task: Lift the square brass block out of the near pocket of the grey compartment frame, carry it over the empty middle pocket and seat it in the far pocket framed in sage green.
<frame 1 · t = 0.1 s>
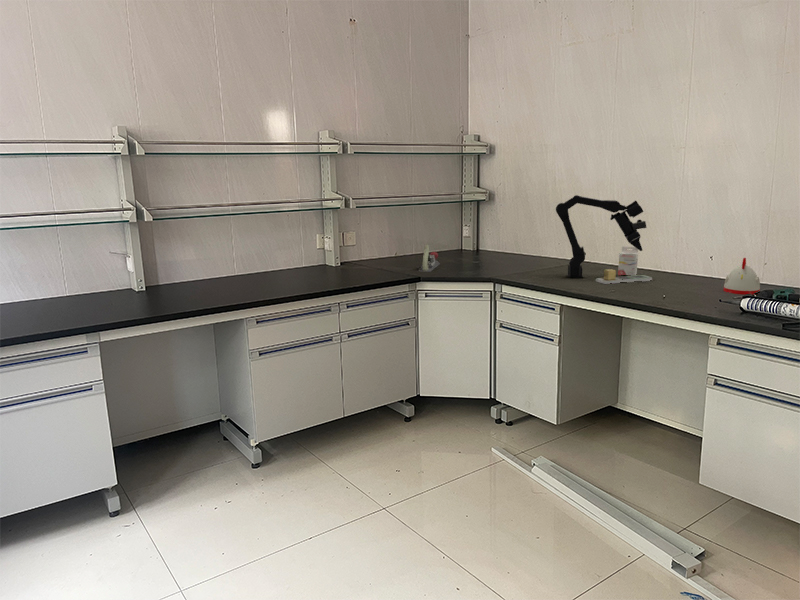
hand: (640, 249, 295), 15 cm above the lab bench, tool tilted 30°, fingers open, 9 cm apart
brass block: (609, 282, 291), resting in grey compartment frame
ink cartridge box: (627, 275, 309), on the lab bench
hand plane: (429, 268, 349), on the lab bench
kitchen timer: (741, 292, 262), on the lab bench
grey compartment frame: (623, 281, 293), on the lab bench
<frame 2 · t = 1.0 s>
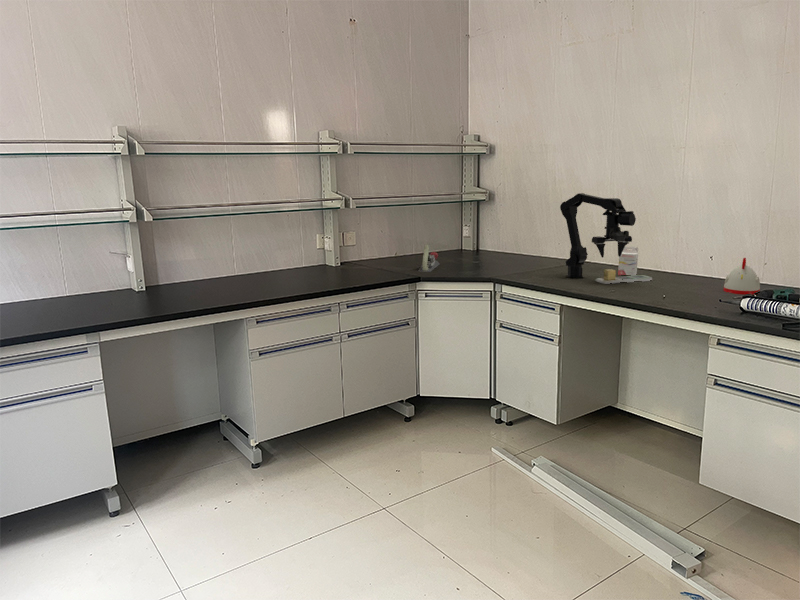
hand: (610, 256, 289), 12 cm above the lab bench, tool pointing down, fingers open, 9 cm apart
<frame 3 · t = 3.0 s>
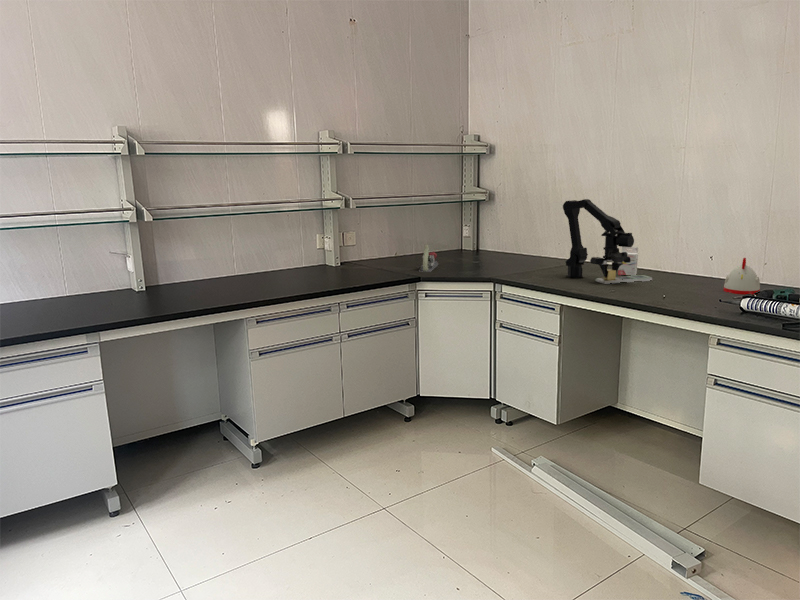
hand: (609, 277, 291), 2 cm above the lab bench, tool pointing down, fingers closed on brass block, 4 cm apart
brass block: (609, 282, 291), resting in grey compartment frame, touching gripper
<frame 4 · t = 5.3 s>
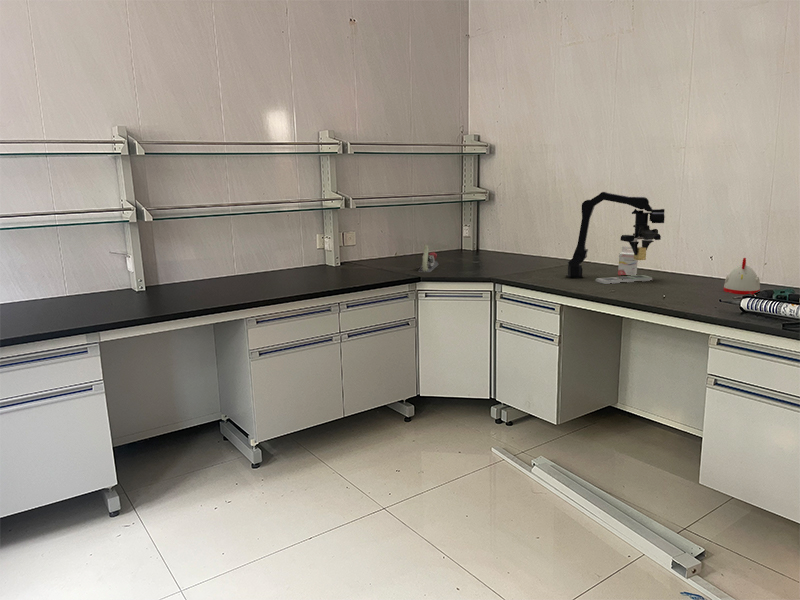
hand: (639, 254, 292), 13 cm above the lab bench, tool pointing down, fingers closed on brass block, 4 cm apart
brass block: (639, 259, 292), point 10 cm above the lab bench, touching gripper
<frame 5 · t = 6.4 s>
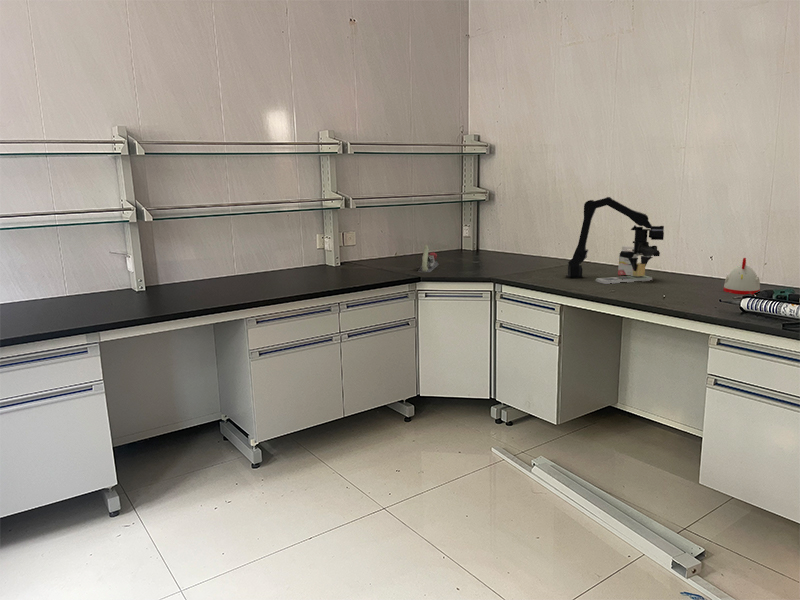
hand: (638, 270, 294), 5 cm above the lab bench, tool pointing down, fingers closed on brass block, 4 cm apart
brass block: (638, 275, 294), point 2 cm above the lab bench, touching gripper
when the fingers open (3 cm above the lab bench, at t = 7.4 s): brass block stays where it is, resting in grey compartment frame.
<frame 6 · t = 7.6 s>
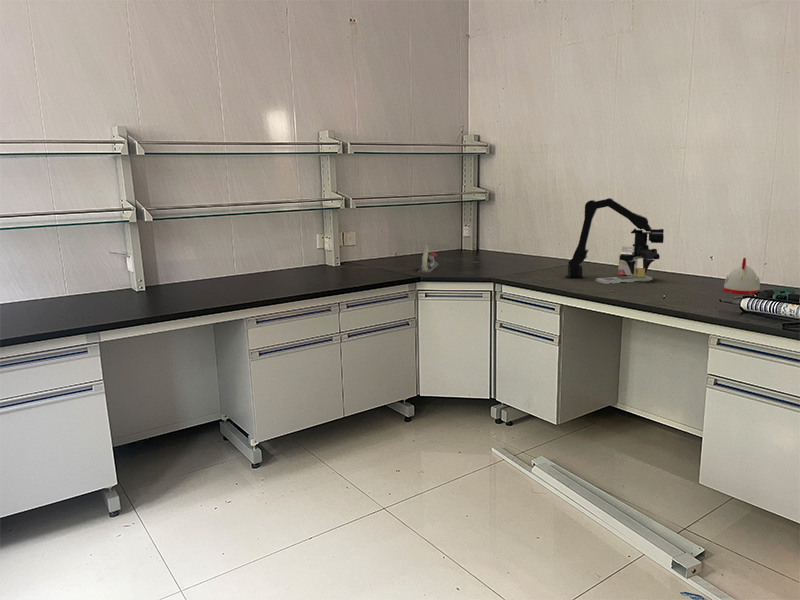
hand: (638, 273, 294), 3 cm above the lab bench, tool pointing down, fingers open, 6 cm apart
brass block: (638, 280, 294), resting in grey compartment frame
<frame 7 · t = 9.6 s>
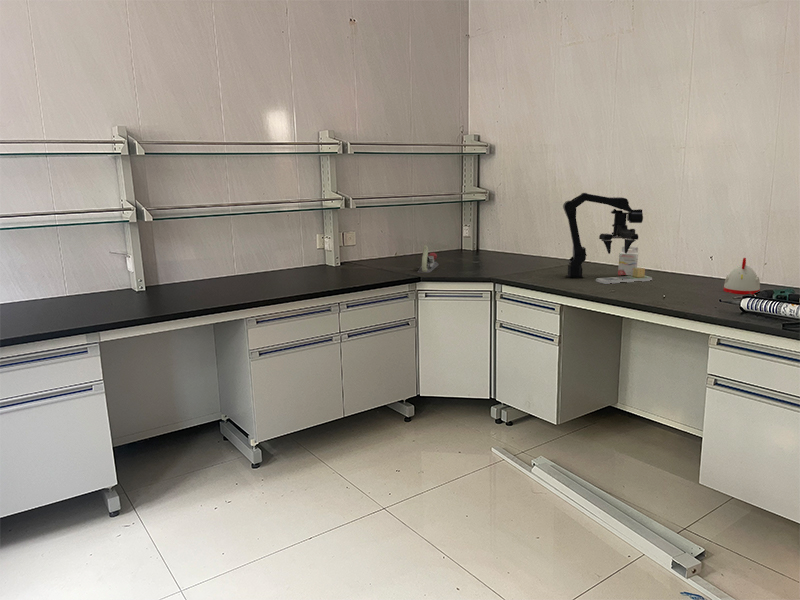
hand: (617, 253, 301), 12 cm above the lab bench, tool pointing down, fingers open, 9 cm apart
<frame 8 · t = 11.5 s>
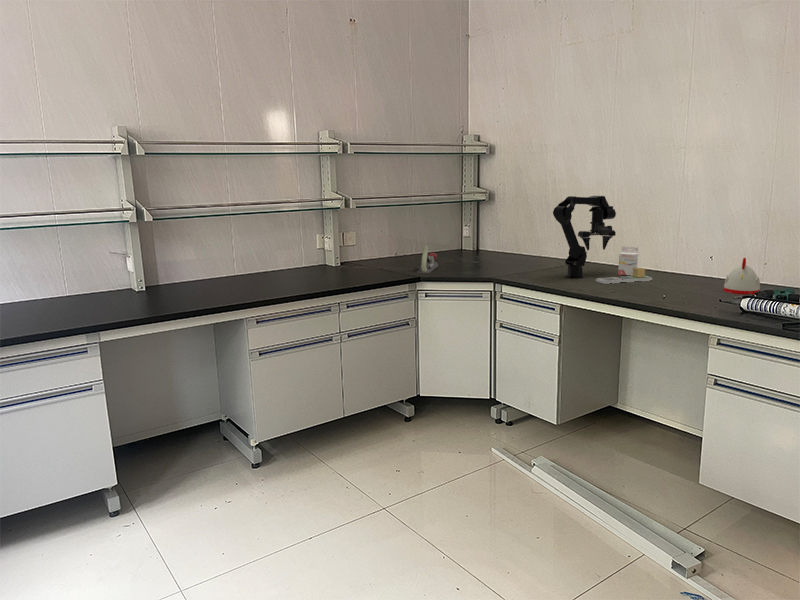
hand: (596, 249, 311), 13 cm above the lab bench, tool pointing down, fingers open, 9 cm apart
at the end: brass block 0.1 cm from the target spot on the grey compartment frame, point 0.0 cm above the grey compartment frame's base; brass block tilted 0°; the gripper is holding nothing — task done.
